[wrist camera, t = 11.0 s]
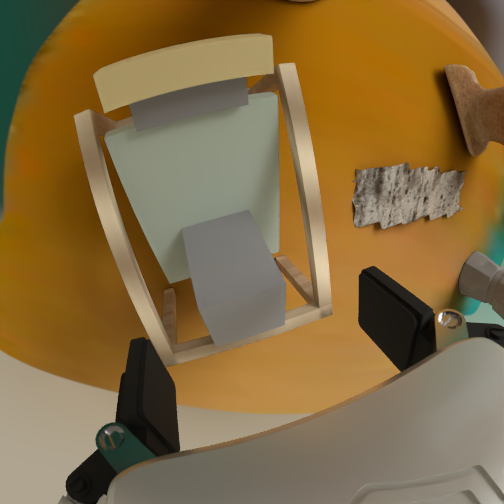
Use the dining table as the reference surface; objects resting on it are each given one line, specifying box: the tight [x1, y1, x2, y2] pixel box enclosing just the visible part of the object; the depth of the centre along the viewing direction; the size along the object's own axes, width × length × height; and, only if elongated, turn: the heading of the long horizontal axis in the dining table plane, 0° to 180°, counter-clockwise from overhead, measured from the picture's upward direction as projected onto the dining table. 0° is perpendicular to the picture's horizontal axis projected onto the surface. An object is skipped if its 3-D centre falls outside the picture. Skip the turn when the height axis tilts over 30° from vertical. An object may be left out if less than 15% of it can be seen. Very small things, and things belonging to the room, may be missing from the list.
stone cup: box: [444, 65, 504, 156], centre depth 22 cm, size 15×12×15 cm
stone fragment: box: [352, 163, 466, 229], centre depth 31 cm, size 25×3×10 cm
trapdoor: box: [93, 33, 279, 284], centre depth 17 cm, size 18×10×3 cm, turn 12°
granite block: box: [181, 210, 286, 347], centre depth 19 cm, size 5×5×7 cm
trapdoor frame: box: [74, 63, 332, 367], centre depth 21 cm, size 18×13×10 cm
